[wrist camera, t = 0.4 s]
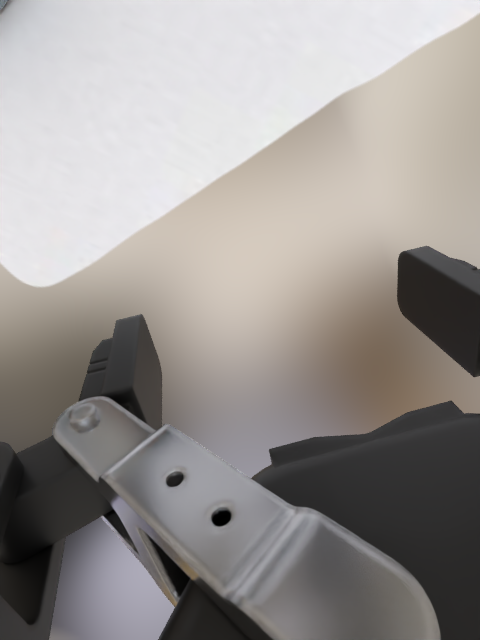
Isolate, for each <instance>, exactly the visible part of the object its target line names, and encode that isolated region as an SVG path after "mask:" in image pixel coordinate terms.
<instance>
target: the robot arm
mask: <svg viewBox="0 0 480 640" xmlns="http://www.w3.org/2000/svg"><path fill="white" fill-rule="evenodd" d="M397 289H398V290H397V299H398V305H399V308H400V311H401V312H402V314H403V315H404V316H405V317H406V318H407V319H408V320H409V321H410V322H411V323H412V324H414V325H415V326H416V327H417V328H418V329H419V330H421V331H422V332H423V333H424V334H425V335H426V336H428V337H429V338H430V339H431V340H432V341H433V342H434V343H435V344H437V345H438V346H439V347H440V348H441V349H442V350H443V351H444V352H446V353H447V354H448V355H449V356H450V357H451V358H453V359H454V360H455V361H456V362H457V363H458V364H460V365H461V366H462V367H463V368H464V369H465V370H466V371H467V372H469V373H470V374H471V375H472V376H473V377H477V376H480V269H477V267H475V266H473V265H471V264H469V263H467V262H465V261H462V260H458V259H453V258H450V257H448V256H446V255H444V254H442V253H440V252H438V251H436V250H434V249H433V248H431V247H429V246H424V247H420V248H416V249H411V250H407V251H403V252H401V253H400V255H399V258H398V288H397ZM52 434H53V435H52V436H51V437H49V438H48V439H45V440H44V441H42V442H40V443H37V444H35V445H33V446H31V447H29V448H27V449H25V450H23V451H21V452H18V453H17V454H16V453H15V452H14V450H13V449H12V448H11V446H10V445H9V444H7V443H5V442H0V640H49V636H50V630H51V624H52V617H53V612H54V606H55V600H56V594H57V588H58V581H59V575H60V569H61V564H62V557H63V551H64V545H65V539H66V536H68V535H70V534H71V533H73V532H75V531H77V530H78V529H80V528H82V527H84V526H85V525H87V524H89V523H91V522H92V521H94V520H96V519H97V518H99V517H101V518H102V519H103V520H104V521H105V523H106V524H107V525H108V526H109V527H110V528H111V529H112V531H113V532H114V533H115V534H116V535H117V536H118V537H119V539H120V540H121V541H122V542H123V543H124V544H125V545H126V546H127V548H128V549H129V550H130V551H131V552H132V553H133V554H134V556H135V557H136V558H137V559H138V560H139V561H140V562H141V563H142V565H143V566H144V567H145V568H146V570H147V571H148V572H149V574H150V575H151V576H152V578H153V579H154V581H155V582H156V584H157V585H158V587H159V588H160V589H161V591H162V592H163V593H164V595H165V596H166V597H167V598H168V600H169V601H170V602H171V603H172V604H173V605H174V607H175V609H174V611H173V613H172V614H171V616H170V618H169V620H168V622H167V624H166V626H165V628H164V630H163V632H162V633H161V635H160V637H159V639H158V640H480V414H473V413H466V414H464V413H463V412H462V411H461V410H460V409H459V408H458V407H457V406H456V405H455V404H454V403H453V402H452V401H448V402H444V403H441V404H437V405H433V406H430V407H426V408H422V409H418V410H415V411H411V412H407V413H405V414H404V415H402V416H400V417H398V418H396V419H394V420H392V421H391V422H389V423H387V424H385V425H383V426H381V427H379V428H378V429H376V430H374V431H372V432H370V433H367V434H360V435H343V436H326V437H313V438H310V439H306V440H302V441H299V442H295V443H291V444H287V445H283V446H280V447H276V448H272V449H269V452H270V457H271V462H272V465H270V466H268V467H266V468H264V469H263V470H262V471H260V472H259V473H257V474H256V475H254V476H253V477H252V478H249V477H248V476H246V475H245V474H243V473H242V472H240V471H239V470H237V469H236V468H234V467H233V466H231V465H230V464H228V463H227V462H225V461H224V460H222V459H221V458H219V457H218V456H216V455H215V454H213V453H212V452H210V451H209V450H207V449H206V448H204V447H203V446H201V445H200V444H198V443H196V442H195V441H194V440H192V439H191V438H189V437H188V436H186V435H185V434H183V433H182V432H180V431H179V430H177V429H176V428H174V427H173V426H171V425H168V424H164V425H163V426H162V372H161V366H160V362H159V359H158V355H157V353H156V350H155V347H154V344H153V341H152V338H151V335H150V333H149V330H148V327H147V324H146V322H145V319H144V317H143V315H142V314H140V315H136V316H132V317H128V318H124V319H120V320H117V321H116V324H115V329H114V333H113V338H110V339H106V340H102V342H101V343H100V344H99V345H98V346H97V347H96V349H95V350H94V351H93V353H92V357H91V360H90V365H89V367H88V370H87V374H86V377H85V380H84V384H83V387H82V391H81V394H80V398H79V401H78V403H75V404H74V405H72V406H70V407H69V408H68V409H66V410H65V411H64V412H63V413H62V414H61V415H60V416H59V417H58V418H57V420H56V421H55V423H54V425H53V428H52Z"/></svg>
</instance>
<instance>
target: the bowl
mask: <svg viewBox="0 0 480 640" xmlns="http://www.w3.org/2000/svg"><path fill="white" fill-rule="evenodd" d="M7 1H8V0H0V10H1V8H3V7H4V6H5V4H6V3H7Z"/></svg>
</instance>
